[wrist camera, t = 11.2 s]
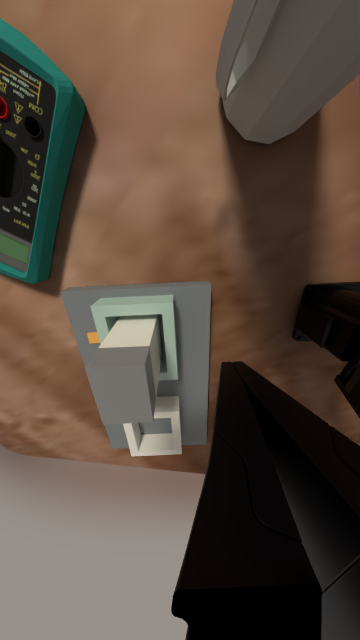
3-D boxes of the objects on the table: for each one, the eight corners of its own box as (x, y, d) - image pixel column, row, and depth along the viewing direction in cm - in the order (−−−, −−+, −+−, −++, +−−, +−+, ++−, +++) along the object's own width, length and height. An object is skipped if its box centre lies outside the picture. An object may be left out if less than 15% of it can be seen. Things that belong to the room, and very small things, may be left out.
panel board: (208, 280, 18) (211, 285, 16) (205, 434, 28) (206, 445, 27) (69, 287, 18) (58, 292, 16) (115, 438, 28) (112, 450, 27)
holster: (178, 395, 22) (178, 411, 20) (181, 437, 26) (181, 454, 24) (125, 398, 22) (120, 414, 20) (135, 439, 26) (131, 456, 24)
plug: (157, 312, 18) (144, 364, 10) (161, 354, 20) (153, 422, 13) (122, 313, 18) (84, 367, 10) (129, 355, 20) (103, 424, 13)
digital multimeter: (93, 97, 13) (71, 60, 10) (51, 282, 18) (30, 289, 16) (-22, 20, 11) (-83, -47, 9) (-30, 246, 17) (-70, 248, 14)
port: (173, 294, 17) (173, 302, 15) (177, 365, 20) (177, 379, 19) (100, 298, 17) (90, 306, 15) (117, 368, 21) (111, 382, 19)
